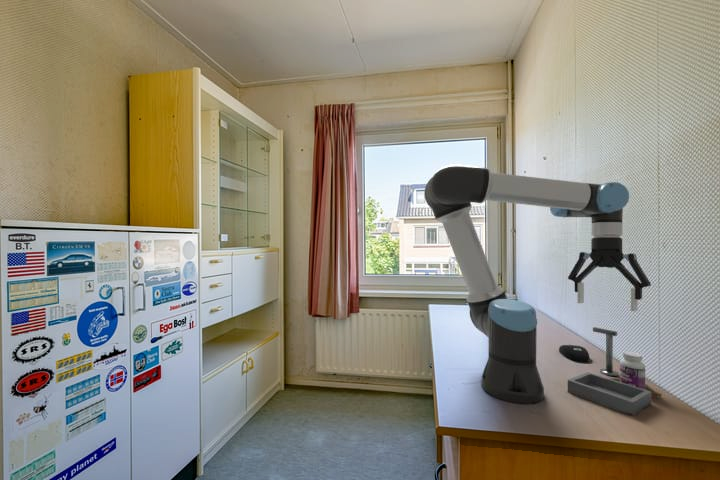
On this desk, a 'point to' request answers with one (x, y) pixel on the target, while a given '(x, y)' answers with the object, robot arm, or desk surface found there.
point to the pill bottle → (632, 370)
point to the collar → (653, 392)
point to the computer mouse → (575, 353)
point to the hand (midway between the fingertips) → (605, 306)
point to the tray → (610, 393)
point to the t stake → (608, 351)
